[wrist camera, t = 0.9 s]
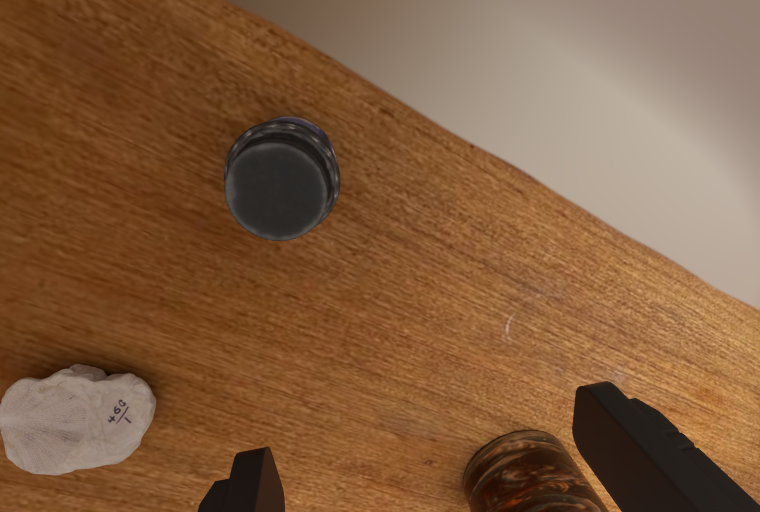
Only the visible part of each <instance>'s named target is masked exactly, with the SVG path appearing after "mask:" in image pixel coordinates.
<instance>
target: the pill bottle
mask: <svg viewBox="0 0 760 512" xmlns="http://www.w3.org/2000/svg"><path fill="white" fill-rule="evenodd" d="M224 180H225V197H226V202H227V205H228V207H229V210H230V212H231V213H232V215H233V216H234V218H235V219H236V221H237V222H238V223H239V224H240V225H241V226H242V227H243V228H245V229H246V230H247V231H248V232H250V233H252V234H254V235H256V236H258V237H260V238H264V239H267V240H272V241H286V240H291V239H295V238H297V237H300V236H302V235H304V234H306V233H307V232H309V231H310V230H311V229H312V228H314V227H315V226H317V225H318V224H320V223H321V222H322V221H323V220H324V219H325V218H326V216H328V215H329V213H330V212H331V211H332V209H333V207H334V205H335V203H336V200H337V198H338V195H339V189H340V172H339V167H338V163H337V160H336V156H335V152H334V149H333V146H332V144H331V142H330V140H329V139H328V137H327V135H326V134H325V133H324V132H323V131H322V130H321V129H320V128H319V127H318V126H317V125H315V124H314V123H312V122H310V121H308V120H306V119H303V118H300V117H292V116H283V117H277V118H274V119H272V120H270V121H267V122H264V123H261V124H259V125H256V126H253V127H252V128H250V129H249V130H247V131H246V132H244V133H243V134H242V135H241V136H240V137H239V138H238V139H237V140H236V141H235V143H234V144H233V145H232V147H231V149H230V150H229V153H228V155H227V158H226V160H225V167H224Z"/></svg>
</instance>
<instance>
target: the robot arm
mask: <svg viewBox="0 0 760 512" xmlns="http://www.w3.org/2000/svg"><path fill="white" fill-rule="evenodd" d="M572 432H573V438H574V441H575V444H576V446H577V449H578V451H579V452H580V454H581V455H582V457H583V458H584V460H585V461H586V463H587V464H588V465H589V467H590V468H591V469H592V471H593V472H594V474H595V475H596V476H597V478H598V479H599V481H600V482H601V483H602V485H603V486H604V487H605V489H606V490H607V492H608V493H609V494H610V496H611V497H612V499H613V500H614V501H615V503H616V504H617V506H618V507H619V508H620V510H621V511H622V512H760V505H759V504H758V503H757V502H756V501H754V500H753V499H752V498H751V497H750V496H749V495H748V494H747V493H746V492H745V491H744V490H743V489H742V488H741V487H739V486H738V485H737V484H736V483H735V482H734V481H733V480H732V479H731V478H730V477H729V476H728V475H727V474H726V473H725V472H723V471H722V470H721V469H720V468H719V467H718V466H717V465H716V464H715V463H714V462H713V461H712V460H711V459H710V458H708V457H707V456H706V455H705V454H704V453H703V452H702V451H701V450H700V449H699V448H696V447H695V446H694V443H692V442H691V441H690V440H689V439H688V438H687V437H686V436H685V435H684V434H683V433H680V432H679V431H678V428H676V427H675V426H674V425H673V424H672V423H671V422H670V421H669V420H668V419H667V418H666V417H665V416H664V415H663V414H661V413H660V412H659V411H658V410H656V409H654V408H652V407H651V406H649V405H647V404H645V403H644V402H642V401H640V400H638V399H637V398H633V399H628V398H627V397H626V396H625V395H624V394H623V393H622V392H621V391H620V390H619V389H618V388H617V387H616V386H615V385H614V384H612V383H611V382H608V381H605V382H600V383H595V384H590V385H585V386H580V387H578V388H577V390H576V396H575V406H574V416H573V426H572ZM198 512H285V500H284V492H283V487H282V484H281V481H280V477H279V474H278V471H277V468H276V465H275V462H274V458H273V455H272V452H271V450H270V448H269V447H264V448H259V449H254V450H249V451H244V452H239V453H237V454H236V456H235V458H234V462H233V466H232V470H231V474H230V478H229V479H225V480H220V481H215V482H214V484H213V485H212V487H211V488H210V490H209V491H208V493H207V494H206V496H205V497H204V499H203V500H202V502H201V503H200V505H199V509H198Z"/></svg>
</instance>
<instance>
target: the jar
mask: <svg viewBox="0 0 760 512" xmlns="http://www.w3.org/2000/svg"><path fill="white" fill-rule="evenodd" d="M463 488H464V492H465V495H466V498H467V501H468V504H469V507H470V510H471V512H609V511H608V509H607V508H606V506H605V505H604V503H603V502H602V501H601V499H600V498H599V496H598V495H597V493H596V492H595V490H594V489H593V488H592V486H591V485H590V483H589V482H588V480H587V479H586V477H585V476H584V475H583V473H582V472H581V470H580V469H579V467H578V466H577V465H576V463H575V462H574V460H573V459H572V458H571V456H570V455H569V453H568V452H567V451H566V449H565V448H564V446H563V445H562V444H561V443H560V441H559V440H558V439H556V438H555V437H554V436H552V435H550V434H548V433H545V432H541V431H532V430H530V431H520V432H515V433H511V434H508V435H505V436H503V437H500V438H498V439H496V440H495V441H493V442H491V443H490V444H488V445H487V446H485V447H484V448H483V449H482V450H480V451H479V452H478V453H477V454H476V455H475V457H474V458H473V459H472V460H471V462H470V463H469V465H468V467H467V469H466V471H465V474H464V478H463Z"/></svg>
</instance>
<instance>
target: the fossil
mask: <svg viewBox="0 0 760 512" xmlns="http://www.w3.org/2000/svg"><path fill="white" fill-rule="evenodd" d="M155 409H156V398H155V397H154V395H153V394H152V391H151V389H150V387H149V385H148V384H147V383H146V382H145V381H144V380H143V379H141V378H139V377H136V376H135V375H134V374H132V373H125V374H112V375H110V376H107V375H106V374H105V372H104V370H102V369H99V368H96V367H91V366H88V365H82V364H74V365H73V366H71V367H70V368H69V369H62V370H60V371H58V372H56V373H54V374H53V375H51V376H50V377H48V378H45V379H35V378H32V377H26V378H23V379H20V380H19V381H17V382H15V383H14V384H13V385H12V386H11V387H10V388H9V389H8V390H6V393H5V395H4V397H3V399H2V402H1V404H0V430H1V435H2V438H3V441H4V446H5V452H6V456H7V458H8V459H9V460H11V461H12V462H13V463H14V464H15V465H17V466H18V467H19V468H21V469H23V470H25V471H29V472H31V473H34V474H46V475H60V474H63V473H68V472H72V471H74V470H75V469H89V468H94V467H99V466H104V465H112V464H117V463H119V462H121V461H123V460H124V459H126V458H127V457H129V456H130V455H131V454H132V453H133V451H134V450H135V449H136V448H138V446H139V445H140V443H141V439H142V436H143V435H144V433H145V431H146V430H147V429H148V428H149V426H150V424H151V422H152V420H153V417H154V412H155Z"/></svg>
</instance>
